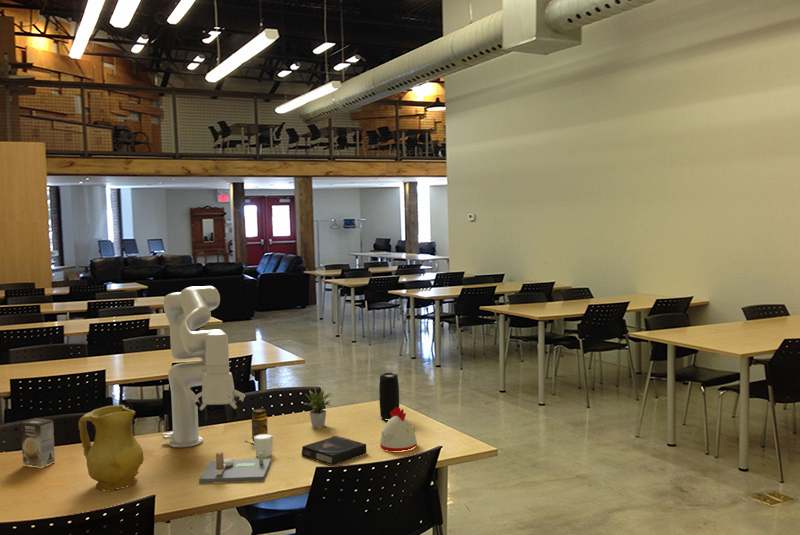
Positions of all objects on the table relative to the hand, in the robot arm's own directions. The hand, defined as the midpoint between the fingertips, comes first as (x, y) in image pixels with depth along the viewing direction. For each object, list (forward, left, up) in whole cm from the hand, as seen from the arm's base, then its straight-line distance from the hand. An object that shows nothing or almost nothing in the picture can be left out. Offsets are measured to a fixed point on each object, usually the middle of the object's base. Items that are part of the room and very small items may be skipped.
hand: (219, 420), depth 226 cm
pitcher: (-34, -2, -20) cm, 39 cm away
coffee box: (-69, +20, -20) cm, 75 cm away
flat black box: (+37, +19, -20) cm, 46 cm away
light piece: (0, +3, -17) cm, 18 cm away
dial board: (+4, +4, -19) cm, 20 cm away
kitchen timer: (+61, +26, -20) cm, 69 cm away
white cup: (+11, +22, -20) cm, 31 cm away
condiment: (+6, +40, -20) cm, 45 cm away
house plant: (+29, +56, -20) cm, 66 cm away
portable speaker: (+59, +65, -20) cm, 89 cm away
